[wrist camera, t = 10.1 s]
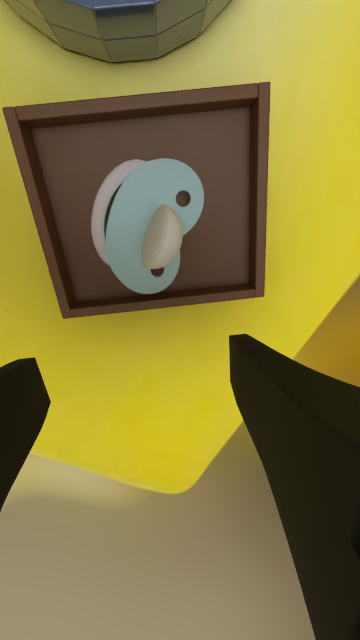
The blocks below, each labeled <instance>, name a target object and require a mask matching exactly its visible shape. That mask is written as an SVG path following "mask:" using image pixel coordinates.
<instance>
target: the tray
mask: <svg viewBox="0 0 360 640" xmlns="http://www.w3.org/2000/svg"><path fill="white" fill-rule="evenodd" d="M2 109H3V113H4V116H5V120H6V123H7V126H8V130H9V133H10V137H11V140H12V144H13V147H14V151H15V154H16V158H17V161H18V165H19V168H20V171H21V175H22V178H23V182H24V185H25V189H26V192H27V196H28V199H29V203H30V206H31V210H32V213H33V216H34V220H35V223H36V227H37V230H38V234H39V237H40V241H41V244H42V248H43V251H44V254H45V258H46V261H47V265H48V268H49V272H50V275H51V279H52V282H53V286H54V289H55V293H56V296H57V299H58V303H59V306H60V310H61V313H62V317H63V319H65V318H75V317H84V316H93V315H102V314H111V313H120V312H129V311H138V310H147V309H156V308H165V307H175V306H184V305H193V304H202V303H211V302H220V301H229V300H238V299H247V298H255V297H264V284H265V250H266V216H267V181H268V147H269V112H270V82H263V83H259V84H258V83H254V84H243V85H233V86H223V87H212V88H202V89H192V90H181V91H171V92H161V93H150V94H140V95H130V96H119V97H109V98H98V99H88V100H78V101H67V102H57V103H47V104H36V105H26V106H16V107H5V108H2ZM160 158H164V159H174V160H178V161H180V162H182V163H185V164H186V165H188V166H189V167H190V168H192V169H193V171H194V172H195V173H196V174H197V175H198V177H199V179H200V181H201V183H202V186H203V191H204V204H203V209H202V212H201V215H200V217H199V219H198V220H197V222H196V223H195V225H194V226H193V227H192V228H191V229H190V230H189V231H188V232H187V233H186V234H185V235H183V239H182V244H181V247H180V266H179V269H178V272H177V275H176V277H175V278H174V280H173V282H172V283H171V284H170V285H169V286H168V287H166V288H165V289H164V290H162V291H160V292H157V293H153V294H142V293H138V292H135V291H133V290H131V289H129V288H128V287H126V286H125V285H124V284H123V283H122V282H121V281H120V280H119V279H118V277H116V275H115V274H114V272H113V271H112V269H111V267H110V266H109V265H107V264H106V263H105V262H104V261H103V260H102V259H101V258H100V256H99V255H98V253H97V250H96V248H95V246H94V243H93V238H92V233H91V217H92V211H93V205H94V201H95V199H96V196H97V193H98V190H99V188H100V187H101V185H102V183H103V182H104V180H105V178H106V177H107V176H108V175H109V174H110V172H111V171H112V170H113V169H114V168H115V167H117V166H118V165H120V164H122V163H123V162H125V161H129V160H134V159H139V160H144V161H147V162H148V161H151V160H156V159H160ZM119 189H120V188H119ZM119 189H118V190H117V192H118V191H119ZM117 192H116V193H115V195H114V197H113V198H112V200H111V203H110V206H109V208H108V212H107V218H106V228H107V223H108V218H109V214H110V210H111V207H112V204H113V202H114V199H115V196H116V194H117ZM176 203H177V204H178V205H179V206H180V207H185V206H187V205H188V204H189V203H190V194H189V193H188V192H187V191H184V190H183V191H180V192H178V193H177V195H176ZM163 272H164V267H162V268H158V269H151V273H152V274H153V275H154V276H160V275H162V274H163Z"/></svg>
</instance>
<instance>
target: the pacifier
mask: <svg viewBox="0 0 360 640" xmlns="http://www.w3.org/2000/svg"><path fill="white" fill-rule="evenodd" d="M119 188H120V189H119ZM118 189H119V191H118V192H117V190H118ZM183 190H184V191H187V192H188V193H189V194H190V203H189V204H188V205H187V206H185V207H180V206H179V205H178V204H177V203H176V195H177V193H178V192H180V191H183ZM116 192H117V194H116V196H115V199H114V202H113V204H112V207H111V210H110V214H109V218H108V223H107V228H106V218H107V212H108V208H109V206H110V203H111V200H112V198H113V197H114V195H115V193H116ZM203 204H204V191H203V186H202V183H201V181H200V179H199V177H198V175H197V174H196V173H195V172H194V171H193V169H192V168H190V167H189V166H188V165H186V164H185V163H182V162H180V161H178V160H174V159H164V158H160V159H156V160H151V161H148V162H147V161H144V160H139V159H134V160H129V161H125V162H123V163H122V164H120V165H118V166H117V167H115V168H114V169H113V170H112V171H111V172H110V174H109V175H108V176H107V177H106V178H105V180H104V182H103V183H102V185H101V187H100V188H99V190H98V193H97V196H96V199H95V201H94V205H93V211H92V217H91V233H92V238H93V243H94V246H95V248H96V250H97V253H98V255H99V256H100V258H101V259H102V260H103V261H104V262H105V263H106V264H107V265H109V266H110V267H111V269H112V271H113V272H114V274H115V275H116V277H118V279H119V280H120V281H121V282H122V283H123V284H124V285H125V286H126V287H128V288H129V289H131V290H133V291H135V292H138V293H142V294H153V293H157V292H160V291H162V290H164V289H165V288H166V287H168V286H169V285H170V284H171V283H172V282H173V280H174V278H175V277H176V275H177V272H178V269H179V266H180V247H181V244H182V239H183V235H185V234H186V233H187V232H188V231H189V230H190V229H191V228H192V227H193V226H194V225H195V223H196V222H197V220H198V219H199V217H200V215H201V212H202V209H203ZM162 267H164V272H163V274H162V275H160V276H154V275H153V274H152V273H151V269H158V268H162Z"/></svg>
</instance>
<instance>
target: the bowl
mask: <svg viewBox="0 0 360 640" xmlns="http://www.w3.org/2000/svg"><path fill="white" fill-rule="evenodd" d="M5 1H6V2H7V3H8V5H9V6H10V7H11V8H12V9H13V11H14V12H15V13H16V14H17V15H18V16H20V17H21V18H23V19H24V20H25V21H27V22H28V23H30V24H31V25H32V26H34V27H35V28H37V29H38V30H39V31H41V32H42V33H44V34H45V35H46V36H48V37H49V38H50V39H52V40H53V41H55V42H56V43H57V44H59V45H60V46H62V47H64V48H65V49H69V50H72V51H75V52H79V53H82V54H85V55H88V56H92V57H95V58H98V59H101V60H105V61H108V62H119V61H130V60H140V59H151V58H156V57H157V58H158V57H160V56H162V55H164V54H166V53H167V52H169V51H171V50H173V49H175V48H177V47H179V46H180V45H182V44H184V43H186V42H188V41H190V40H192V39H193V38H195V37H197V36H199V35H200V34H201V33H202V32H203V31H204V30H205V29H206V27H207V26H208V25H209V24H210V23H211V22H212V21H213V20H214V18H215V17H216V16H217V15H218V14H219V13H220V12H221V11H222V10H223V8H224V7H225V6H226V5H227V4H228V3H229V2H230V1H231V0H5Z"/></svg>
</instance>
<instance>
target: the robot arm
mask: <svg viewBox="0 0 360 640" xmlns="http://www.w3.org/2000/svg"><path fill="white" fill-rule="evenodd" d="M229 348H230V382H231V385H232V389H233V393H234V396H235V399H236V403H237V406H238V408H239V410H240V413H241V415H242V417H243V420H244V422H245V424H246V427H247V429H248V431H249V433H250V436H251V438H252V440H253V442H254V445H255V447H256V449H257V452H258V454H259V456H260V459H261V461H262V463H263V466H264V469H265V471H266V474H267V478H268V481H269V484H270V487H271V490H272V493H273V496H274V499H275V502H276V505H277V509H278V511H279V515H280V518H281V521H282V525H283V528H284V531H285V534H286V537H287V541H288V544H289V547H290V551H291V554H292V558H293V561H294V564H295V568H296V571H297V574H298V578H299V581H300V585H301V588H302V592H303V596H304V599H305V603H306V606H307V610H308V613H309V617H310V621H311V624H312V628H313V631H314V635H315V638H316V640H360V387H357V386H354V385H351V384H348V383H345V382H342V381H340V380H337V379H335V378H332V377H330V376H327V375H325V374H322V373H320V372H317V371H315V370H313V369H310V368H308V367H306V366H304V365H302V364H300V363H298V362H296V361H294V360H292V359H290V358H288V357H286V356H284V355H282V354H281V353H279V352H277V351H275V350H273V349H272V348H270V347H268V346H266V345H265V344H263V343H261V342H260V341H258V340H256V339H254V338H253V337H251V336H249V335H247V334H240V335H231V336H229ZM50 403H51V401H50V399H49V396H48V393H47V390H46V387H45V385H44V382H43V379H42V376H41V373H40V371H39V368H38V365H37V362H36V359H35V358H26V359H18V360H15V361H13V362H11V363H8V364H6V365H4V366H2V367H0V511H1V508H2V506H3V504H4V501H5V499H6V497H7V495H8V493H9V491H10V489H11V487H12V485H13V483H14V481H15V479H16V477H17V475H18V473H19V471H20V470H21V468H22V466H23V464H24V462H25V460H26V458H27V456H28V454H29V452H30V450H31V448H32V446H33V444H34V442H35V440H36V439H37V437H38V435H39V433H40V430H41V428H42V426H43V423H44V421H45V418H46V415H47V412H48V409H49V406H50Z"/></svg>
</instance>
